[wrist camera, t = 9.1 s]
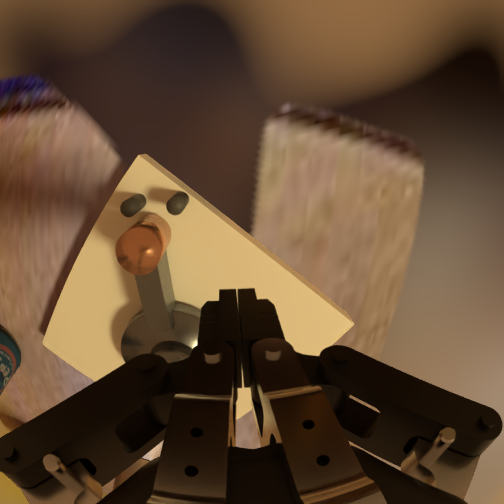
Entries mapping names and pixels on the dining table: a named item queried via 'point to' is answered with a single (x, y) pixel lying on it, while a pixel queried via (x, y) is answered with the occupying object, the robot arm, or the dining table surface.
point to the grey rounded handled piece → (155, 295)
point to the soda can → (8, 357)
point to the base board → (178, 276)
